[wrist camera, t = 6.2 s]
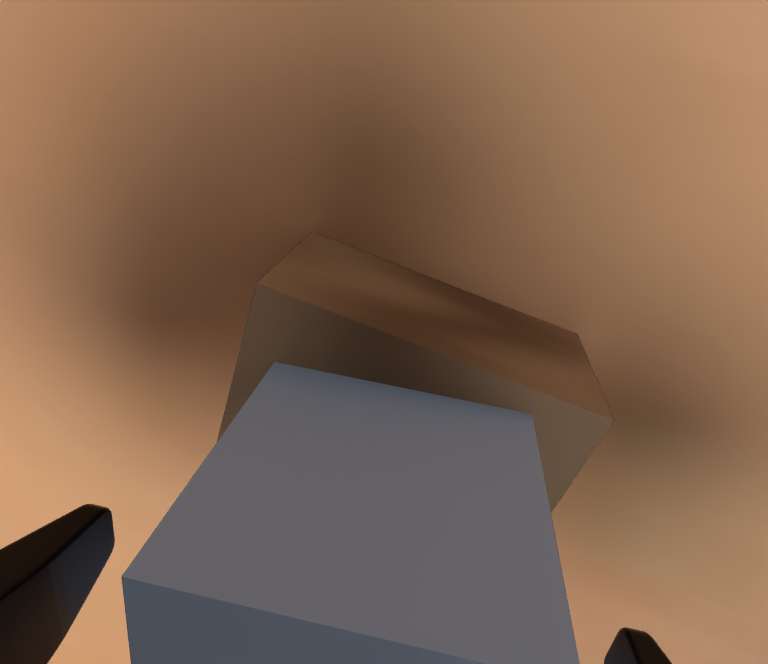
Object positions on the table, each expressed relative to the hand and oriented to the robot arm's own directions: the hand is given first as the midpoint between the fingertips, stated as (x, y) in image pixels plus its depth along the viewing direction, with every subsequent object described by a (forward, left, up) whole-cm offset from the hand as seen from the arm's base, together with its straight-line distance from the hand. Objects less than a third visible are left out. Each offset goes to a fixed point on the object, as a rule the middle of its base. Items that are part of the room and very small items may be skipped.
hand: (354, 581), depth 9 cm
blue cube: (0, 0, -2) cm, 2 cm away
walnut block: (0, 0, -6) cm, 6 cm away
